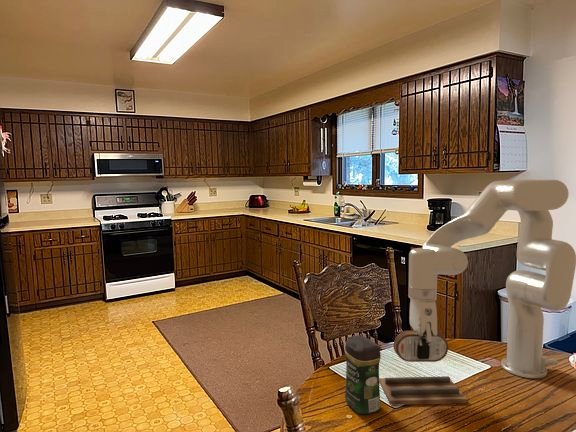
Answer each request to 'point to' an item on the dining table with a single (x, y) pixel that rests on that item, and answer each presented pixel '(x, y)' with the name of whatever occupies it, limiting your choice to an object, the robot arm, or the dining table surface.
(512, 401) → the dining table surface
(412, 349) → the tin
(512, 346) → the robot arm
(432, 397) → the holder
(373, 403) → the coffee jar
